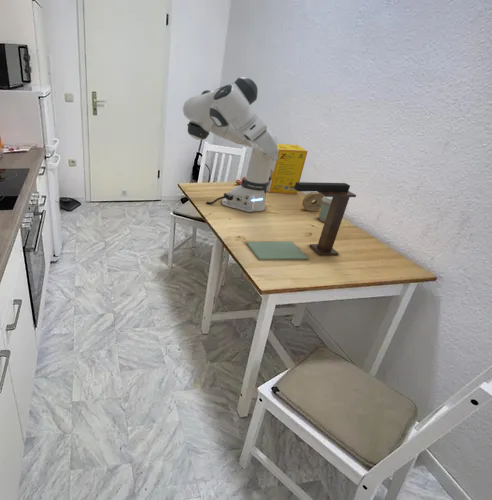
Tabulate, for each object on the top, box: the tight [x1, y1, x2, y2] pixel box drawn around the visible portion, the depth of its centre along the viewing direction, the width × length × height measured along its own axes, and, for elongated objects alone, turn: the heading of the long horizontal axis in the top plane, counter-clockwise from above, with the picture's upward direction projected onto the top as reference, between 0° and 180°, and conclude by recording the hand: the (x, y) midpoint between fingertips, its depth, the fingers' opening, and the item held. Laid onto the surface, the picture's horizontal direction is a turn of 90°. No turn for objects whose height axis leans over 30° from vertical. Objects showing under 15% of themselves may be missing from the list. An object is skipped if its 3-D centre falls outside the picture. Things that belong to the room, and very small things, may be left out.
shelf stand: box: [309, 190, 357, 256], centre depth 142 cm, size 14×10×26 cm
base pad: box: [246, 241, 309, 261], centre depth 146 cm, size 20×14×1 cm
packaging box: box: [267, 143, 308, 195], centre depth 214 cm, size 16×16×25 cm
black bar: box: [294, 181, 351, 193], centre depth 135 cm, size 20×3×2 cm, turn 96°
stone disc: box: [302, 191, 324, 212], centre depth 187 cm, size 10×4×10 cm, turn 89°
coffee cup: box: [318, 196, 333, 223], centre depth 176 cm, size 9×8×12 cm
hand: (271, 156), depth 130 cm, fingers open, 8 cm apart
